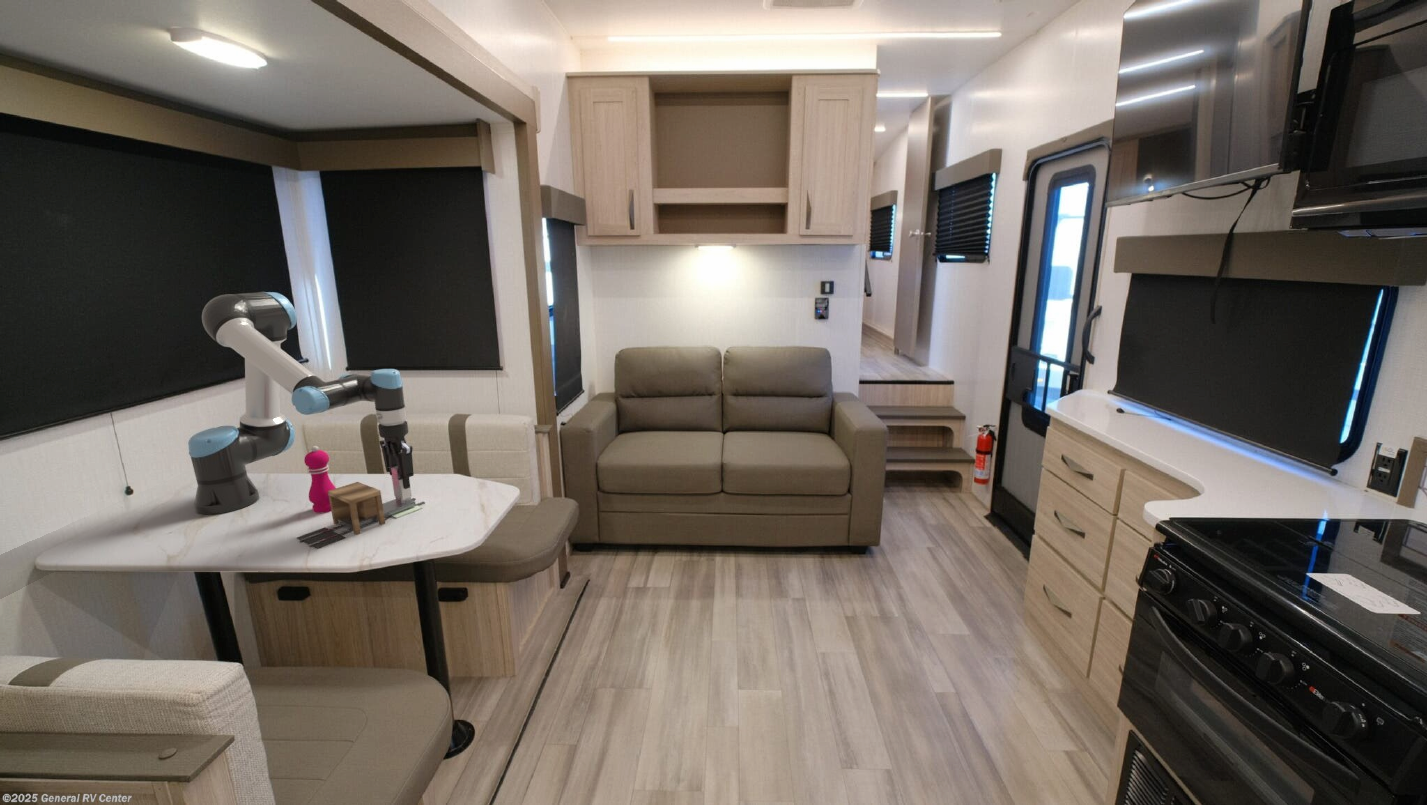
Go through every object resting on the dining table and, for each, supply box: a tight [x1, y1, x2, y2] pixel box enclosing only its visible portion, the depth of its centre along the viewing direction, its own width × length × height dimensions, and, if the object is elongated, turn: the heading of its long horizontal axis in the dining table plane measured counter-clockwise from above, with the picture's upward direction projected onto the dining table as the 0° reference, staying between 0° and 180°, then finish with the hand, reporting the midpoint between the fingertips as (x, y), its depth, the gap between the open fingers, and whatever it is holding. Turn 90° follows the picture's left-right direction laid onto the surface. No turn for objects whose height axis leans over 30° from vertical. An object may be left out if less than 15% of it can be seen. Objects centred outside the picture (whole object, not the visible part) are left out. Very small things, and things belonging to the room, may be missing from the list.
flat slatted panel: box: [296, 526, 347, 550], centre depth 154 cm, size 11×7×1 cm, turn 59°
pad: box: [391, 505, 423, 519], centre depth 172 cm, size 11×8×1 cm
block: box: [356, 497, 377, 518], centre depth 164 cm, size 5×5×5 cm
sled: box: [338, 466, 417, 529], centre depth 165 cm, size 7×18×12 cm, turn 149°
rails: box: [298, 497, 426, 548], centre depth 164 cm, size 6×32×1 cm, turn 149°
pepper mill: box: [303, 445, 336, 514], centre depth 169 cm, size 7×7×20 cm
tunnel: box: [328, 481, 386, 536], centre depth 161 cm, size 12×8×10 cm, turn 59°
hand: (403, 496), depth 172 cm, fingers closed on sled, 3 cm apart
